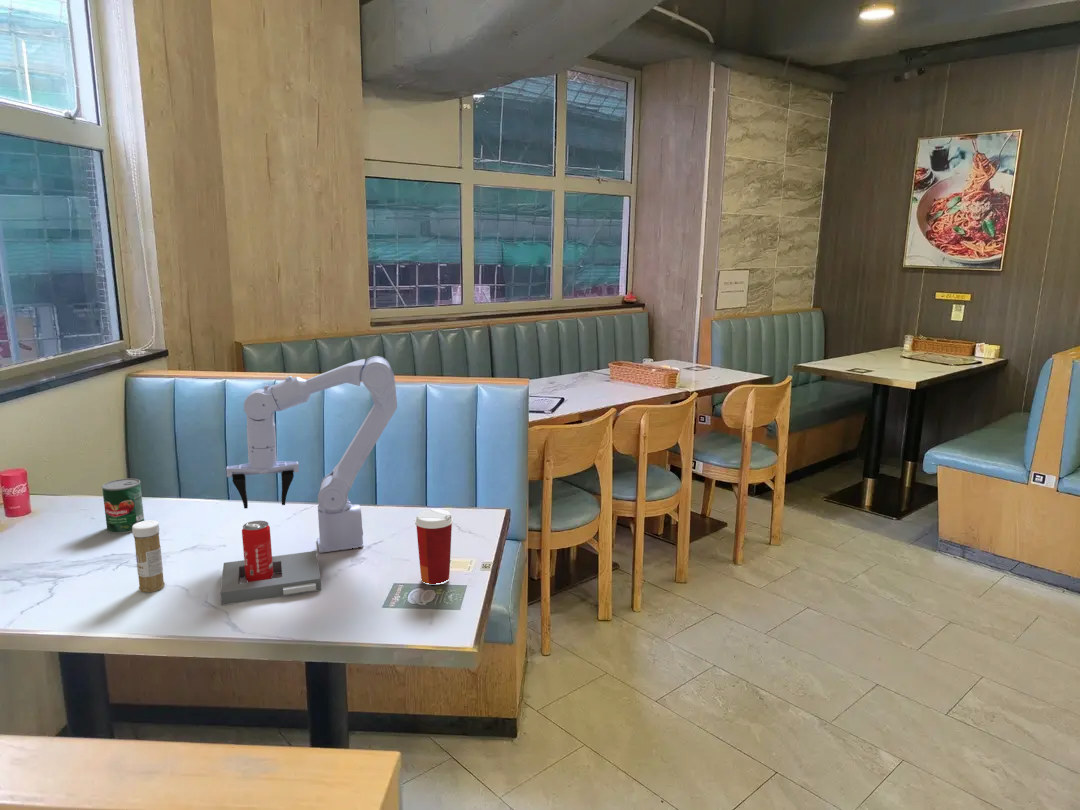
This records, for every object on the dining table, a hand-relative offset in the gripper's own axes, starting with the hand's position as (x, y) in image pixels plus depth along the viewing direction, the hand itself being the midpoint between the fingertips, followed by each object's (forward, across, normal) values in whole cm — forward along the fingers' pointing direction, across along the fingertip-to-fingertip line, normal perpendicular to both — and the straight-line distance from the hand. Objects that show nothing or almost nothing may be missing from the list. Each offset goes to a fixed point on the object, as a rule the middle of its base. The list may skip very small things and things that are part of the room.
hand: (264, 505), depth 158 cm
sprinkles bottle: (+11, -21, -12) cm, 27 cm away
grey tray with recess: (+10, +1, -17) cm, 20 cm away
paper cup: (+10, +32, -27) cm, 43 cm away
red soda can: (+11, -2, -16) cm, 19 cm away
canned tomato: (+12, -31, +25) cm, 42 cm away
